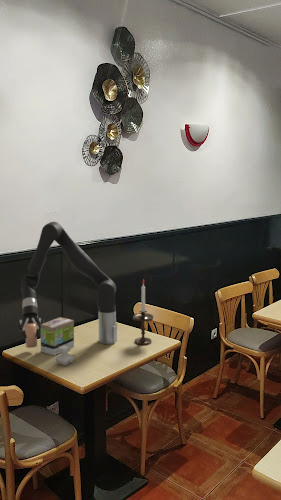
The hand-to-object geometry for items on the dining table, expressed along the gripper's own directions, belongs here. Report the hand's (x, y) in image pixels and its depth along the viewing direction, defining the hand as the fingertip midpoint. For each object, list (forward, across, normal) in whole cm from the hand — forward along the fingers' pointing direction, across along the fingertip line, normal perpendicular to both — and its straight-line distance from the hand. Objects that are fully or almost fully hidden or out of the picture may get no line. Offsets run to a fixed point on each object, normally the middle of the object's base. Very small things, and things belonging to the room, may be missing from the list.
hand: (31, 337), depth 233 cm
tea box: (+4, +13, +8) cm, 16 cm away
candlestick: (+5, +58, +8) cm, 59 cm away
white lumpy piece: (+18, +15, -6) cm, 24 cm away
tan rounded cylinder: (+2, 0, +5) cm, 5 cm away
